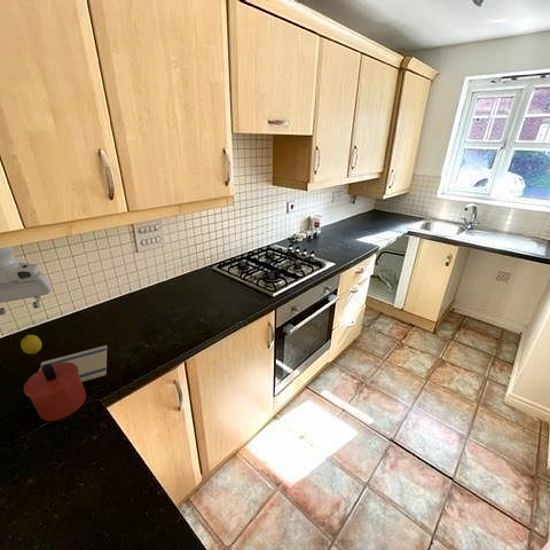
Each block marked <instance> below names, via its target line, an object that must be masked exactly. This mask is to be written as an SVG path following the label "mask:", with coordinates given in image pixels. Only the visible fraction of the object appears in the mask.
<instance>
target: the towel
mask: <svg viewBox="0 0 550 550" xmlns="http://www.w3.org/2000/svg"><path fill="white" fill-rule="evenodd" d="M107 357H108V345H107V344H105V345H102V346H98V347H94V348H91V349H86V350H83V351H79V352H75V353H72V354H67V355H64V356H60V357H56V358H53V359H48V360H45V361H41V363H40V366H39V369H38V371H40V370H41V369H42V367H44V366H45V365H48V364H51V365H53V364H57V363H63V362H69V363H73V364H75V365H76V366H77V367H78V374H79V377H80V379H81V382H82V383H83V382H87V381H90V380H94V379H97V378H101V377H104V376H106V375H107V361H108V360H107V359H108V358H107Z"/></svg>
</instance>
